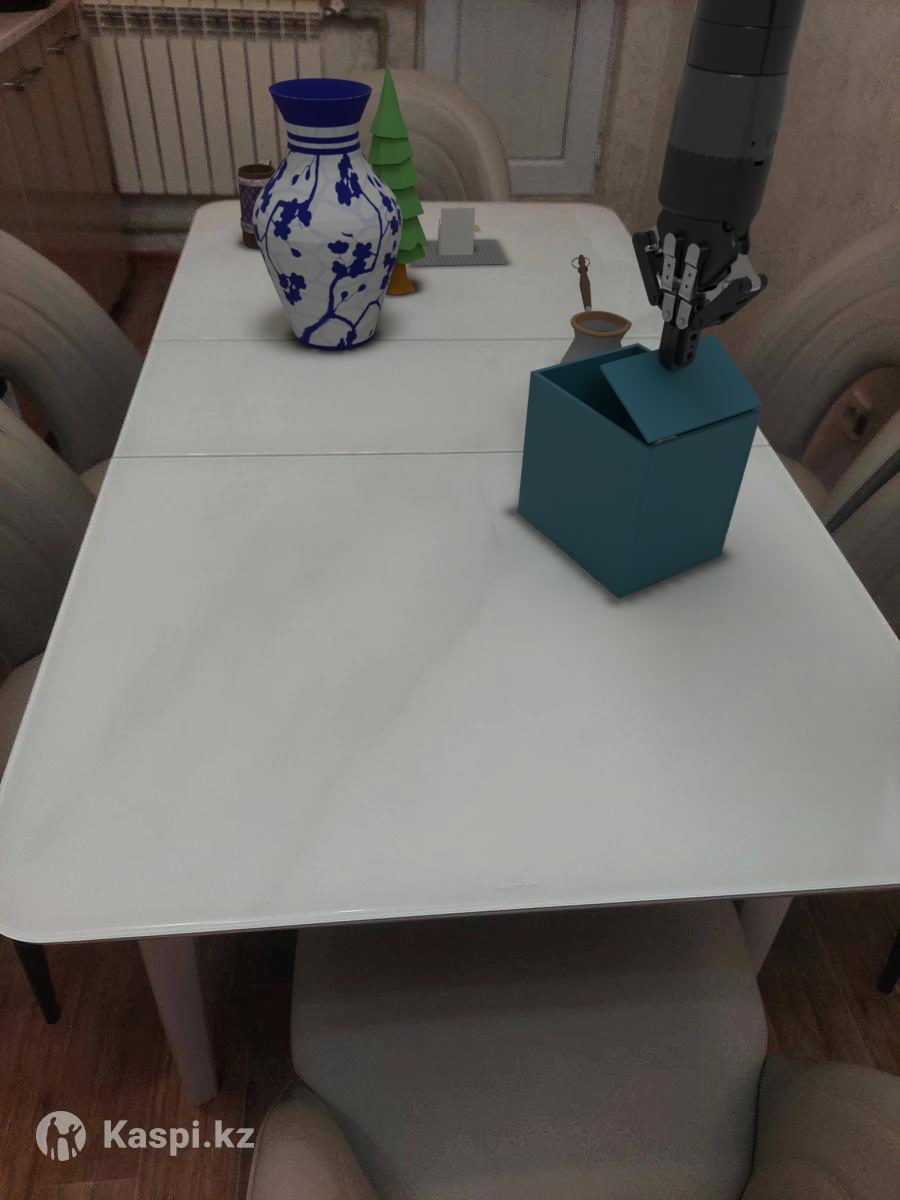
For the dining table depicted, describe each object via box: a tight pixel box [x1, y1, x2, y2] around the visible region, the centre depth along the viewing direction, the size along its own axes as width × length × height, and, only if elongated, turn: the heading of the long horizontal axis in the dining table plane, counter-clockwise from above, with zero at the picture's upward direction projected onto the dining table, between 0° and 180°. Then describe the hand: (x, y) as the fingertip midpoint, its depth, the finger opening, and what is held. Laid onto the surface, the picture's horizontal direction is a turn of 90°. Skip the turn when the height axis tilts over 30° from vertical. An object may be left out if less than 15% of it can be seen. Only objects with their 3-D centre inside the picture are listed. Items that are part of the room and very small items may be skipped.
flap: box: [599, 333, 764, 444], centre depth 74 cm, size 8×13×1 cm, turn 122°
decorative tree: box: [367, 61, 429, 296], centre depth 127 cm, size 10×9×30 cm
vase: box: [252, 77, 403, 351], centre depth 113 cm, size 19×19×30 cm
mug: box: [237, 157, 276, 250], centre depth 148 cm, size 10×7×12 cm
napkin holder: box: [436, 204, 482, 256], centre depth 147 cm, size 3×7×7 cm, turn 98°
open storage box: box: [517, 342, 762, 599], centre depth 84 cm, size 16×13×16 cm
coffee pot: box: [559, 254, 633, 364], centre depth 104 cm, size 21×12×15 cm, turn 2°
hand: (674, 365), depth 74 cm, fingers closed
